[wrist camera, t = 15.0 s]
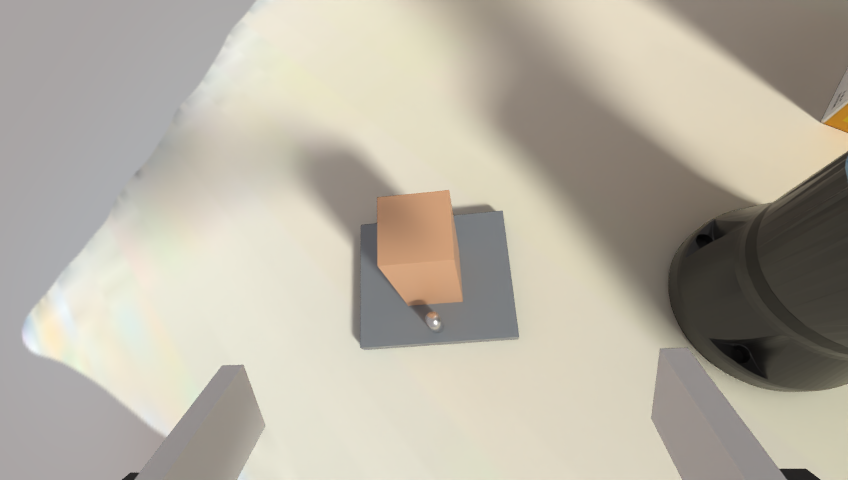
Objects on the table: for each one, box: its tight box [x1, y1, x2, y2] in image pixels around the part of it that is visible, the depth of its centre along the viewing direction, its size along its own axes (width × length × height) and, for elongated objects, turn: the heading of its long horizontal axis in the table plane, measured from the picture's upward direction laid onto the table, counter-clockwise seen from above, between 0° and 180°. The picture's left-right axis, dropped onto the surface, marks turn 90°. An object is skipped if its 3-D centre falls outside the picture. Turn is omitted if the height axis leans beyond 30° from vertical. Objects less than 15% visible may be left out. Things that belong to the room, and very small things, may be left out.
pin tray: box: [360, 211, 519, 350], centre depth 38 cm, size 14×12×5 cm
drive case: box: [377, 190, 463, 306], centre depth 34 cm, size 5×5×12 cm
